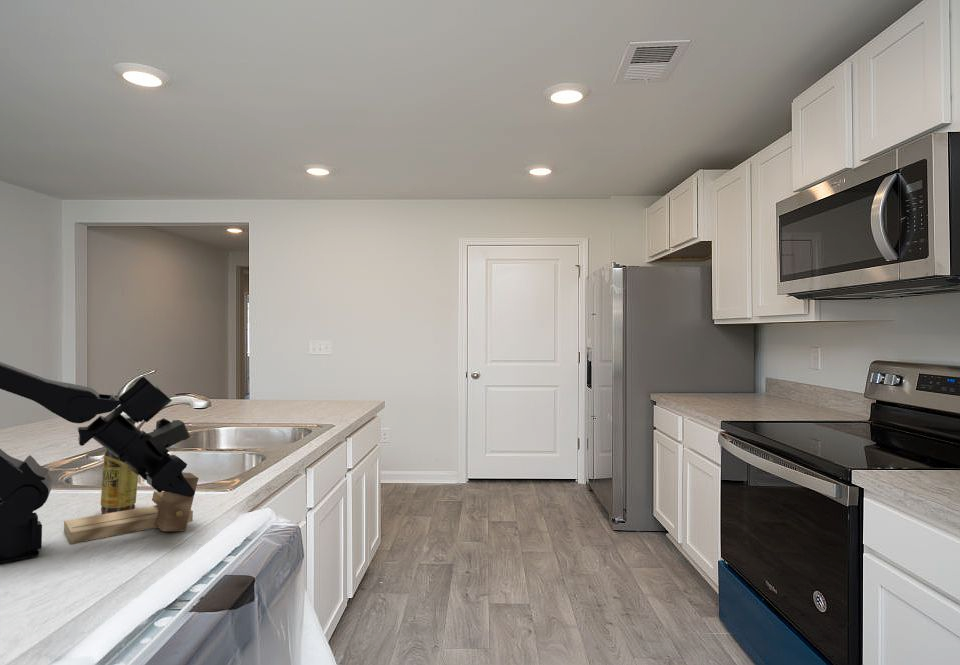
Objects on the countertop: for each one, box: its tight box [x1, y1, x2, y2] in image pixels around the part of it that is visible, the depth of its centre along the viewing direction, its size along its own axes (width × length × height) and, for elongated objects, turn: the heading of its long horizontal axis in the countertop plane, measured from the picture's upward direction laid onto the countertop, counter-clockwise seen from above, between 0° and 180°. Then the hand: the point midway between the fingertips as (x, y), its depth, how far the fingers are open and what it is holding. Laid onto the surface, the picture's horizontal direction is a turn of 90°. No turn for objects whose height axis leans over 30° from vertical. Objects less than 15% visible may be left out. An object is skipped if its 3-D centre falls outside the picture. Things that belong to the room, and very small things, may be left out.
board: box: [63, 504, 194, 545], centre depth 110 cm, size 20×8×2 cm, turn 133°
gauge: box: [151, 471, 199, 532], centre depth 113 cm, size 4×15×10 cm, turn 43°
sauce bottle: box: [100, 414, 139, 514], centre depth 118 cm, size 7×6×20 cm
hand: (188, 491), depth 111 cm, fingers closed on gauge, 5 cm apart
